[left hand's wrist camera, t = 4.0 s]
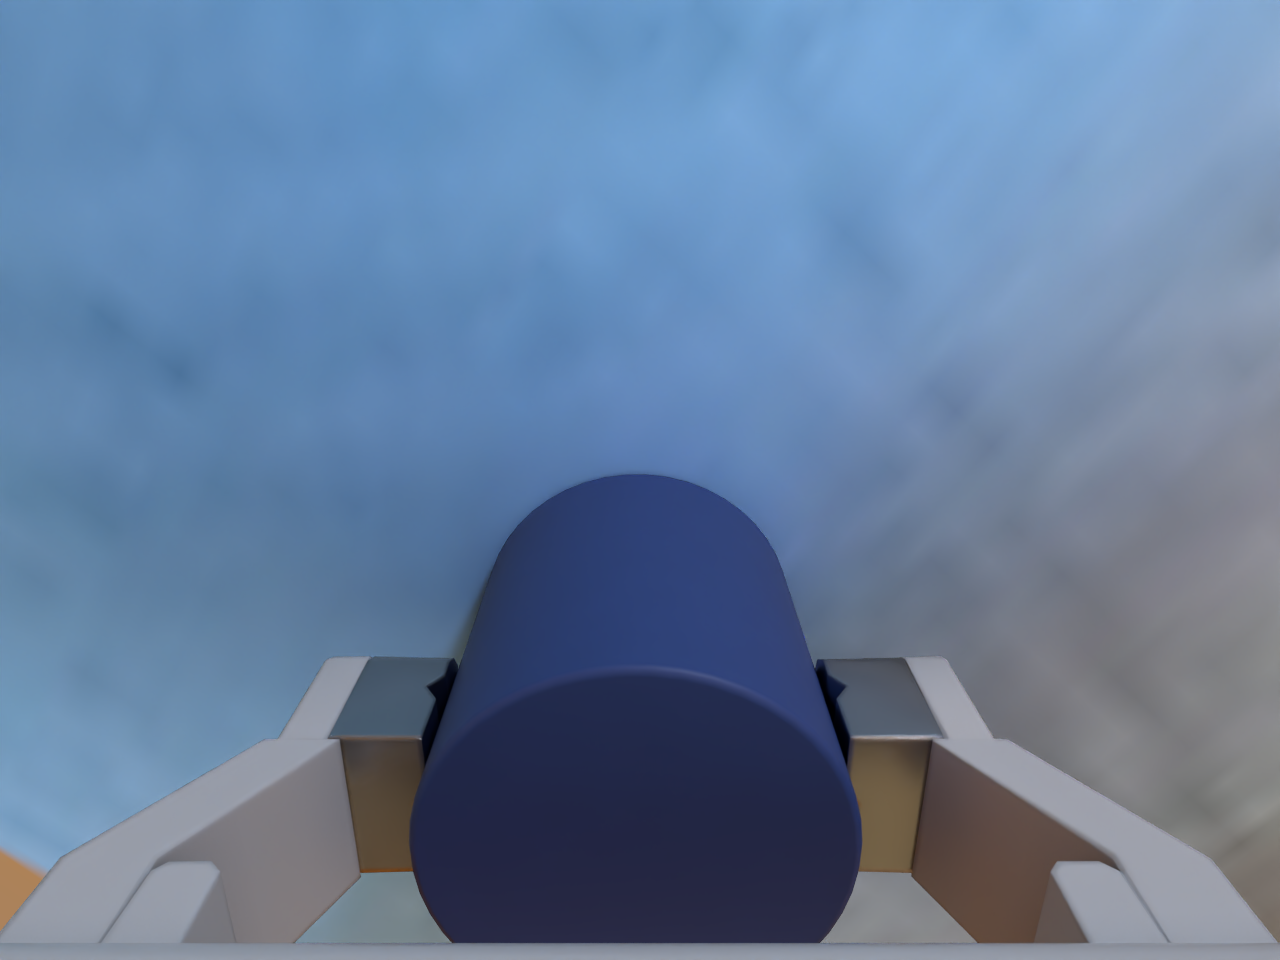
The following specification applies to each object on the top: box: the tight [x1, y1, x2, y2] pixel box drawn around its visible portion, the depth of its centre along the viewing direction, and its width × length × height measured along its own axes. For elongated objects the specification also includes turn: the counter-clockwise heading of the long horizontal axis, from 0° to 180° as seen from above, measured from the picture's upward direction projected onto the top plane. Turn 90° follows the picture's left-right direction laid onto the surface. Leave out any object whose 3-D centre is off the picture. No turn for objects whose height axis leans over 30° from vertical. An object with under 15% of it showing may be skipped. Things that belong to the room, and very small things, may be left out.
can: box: [409, 475, 862, 943], centre depth 11 cm, size 4×4×5 cm
